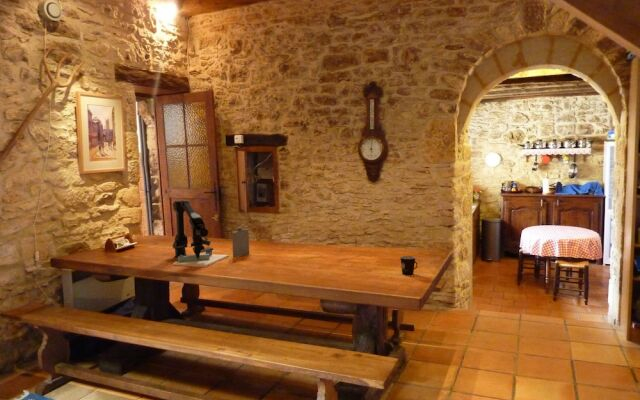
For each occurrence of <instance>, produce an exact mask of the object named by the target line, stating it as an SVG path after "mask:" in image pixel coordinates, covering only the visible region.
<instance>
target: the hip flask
mask: <svg viewBox="0 0 640 400" xmlns="http://www.w3.org/2000/svg"><path fill="white" fill-rule="evenodd" d="M231 234H232V235H231V236H232V237H231V238H232V241H231V242H232V258H233V257H234V258H236V257H237V258H239V257H242V256H246V255H250V240H249V238H250V237H249V235H250V234H249V228H243V227H242V226H237V227H236V230H235V231H232V232H231Z"/></svg>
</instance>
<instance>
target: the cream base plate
mask: <svg viewBox="0 0 640 400" xmlns="http://www.w3.org/2000/svg"><path fill="white" fill-rule="evenodd" d="M201 254H202V253H200V255H201ZM209 257H210V259H205V260H194V261H184V262H178V260H177V261H175V262H173V263H172V266H183V267H197V268H199V267H200V268H207V267H209V266H211V265H214V264H216V263H218V262H220V261H222V260H225V259H227V258H229V254H213V253H212V255H210V256H209ZM213 263H214V264H213ZM208 265H209V266H208ZM206 266H207V267H206Z"/></svg>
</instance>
